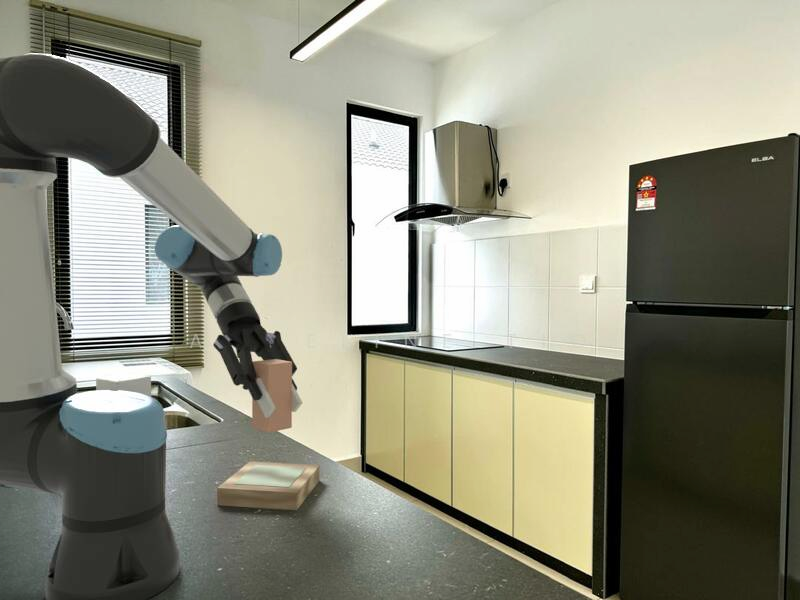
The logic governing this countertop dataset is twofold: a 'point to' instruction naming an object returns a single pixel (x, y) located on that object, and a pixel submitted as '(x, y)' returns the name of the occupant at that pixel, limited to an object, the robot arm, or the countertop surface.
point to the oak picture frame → (269, 485)
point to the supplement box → (125, 383)
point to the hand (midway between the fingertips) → (284, 410)
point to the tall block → (274, 395)
